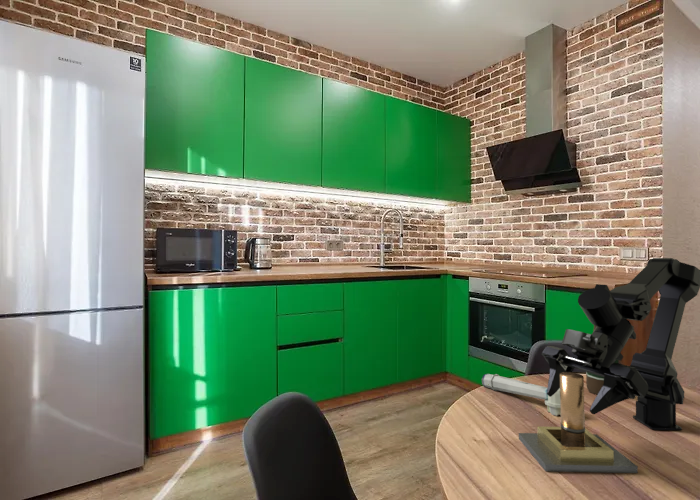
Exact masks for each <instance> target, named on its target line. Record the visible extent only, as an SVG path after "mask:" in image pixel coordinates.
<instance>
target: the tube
mask: <svg viewBox="0 0 700 500" xmlns="http://www.w3.org/2000/svg"><path fill="white" fill-rule="evenodd" d="M584 384H585V383H584V375H583V374H580V373H576V372H573V371H572V372H562V373H560V408H561V415H560V427H561V444H562V445H563V446H564V447H585V429H586V426H585V423H586V422H585V420H586V419H585V387H584Z"/></svg>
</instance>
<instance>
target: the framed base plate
mask: <svg viewBox="0 0 700 500" xmlns="http://www.w3.org/2000/svg"><path fill="white" fill-rule="evenodd" d="M536 430H537V432H536V433H535V432H518V440H519V441H520V442H521V443H522V445H523V446H524V447H525V448H526V449H527V451H528V452H529V453H530V455H532V456H533V457H532V458H534V459H535V460H536V461H537V463H538V464H539V465H540V466H541V468H542V469H543V470H544V471H545V472H557V473H559V472H561V473H562V472H563V473H565V472H566V473H567V472H568V473H608V474H609V473H611V474H614V473H615V474H616V473H618V474H638V471H639V469H638V465H636V464H635V463H634V462H633V461H632V460H630V459H629V458H628V457H626V456H625V455H624V454H623V453H621V452H620V451H619V450H617V449H616V448H615V447H613V446H612V445H611V444H610V443H608V442H607V441H606V440H604V438H602V437H601V436H600V435H598V434H597V433H596V434H595V433H592V432H590V431H589V430H588V429H587V428H585V447H564V446H563V445H562V444H561V426H537V429H536Z"/></svg>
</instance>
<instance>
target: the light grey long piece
mask: <svg viewBox="0 0 700 500" xmlns="http://www.w3.org/2000/svg"><path fill="white" fill-rule="evenodd" d="M481 384H482V386H483V387H484V388H488V389H491V390H493V391H500V392H505V393H509V394H510V393H511V394H514V395H520V396H525V397H530V398H535V399H538V400H539V399H540V400H544V404H545V406H546V409H547V412H548V413H550V414H551V415H552V416H556V417H557V416H559V415H560V416H561V408H560V389H559V390H558V391H557V392H556V393H555V394H554V395H552V396H551V397H550V396H548V395H547V387H548V386H543V385H539V384H533V383H530V382H527V381H526V382H525V381H523V380H522V381H521V380H518V379H515V378H514V379H513V378H510V377H505V376H500V375H499V374H497V373H495V374H490V373H486V374H483V375H482V378H481ZM488 384H489V385H488Z"/></svg>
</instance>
